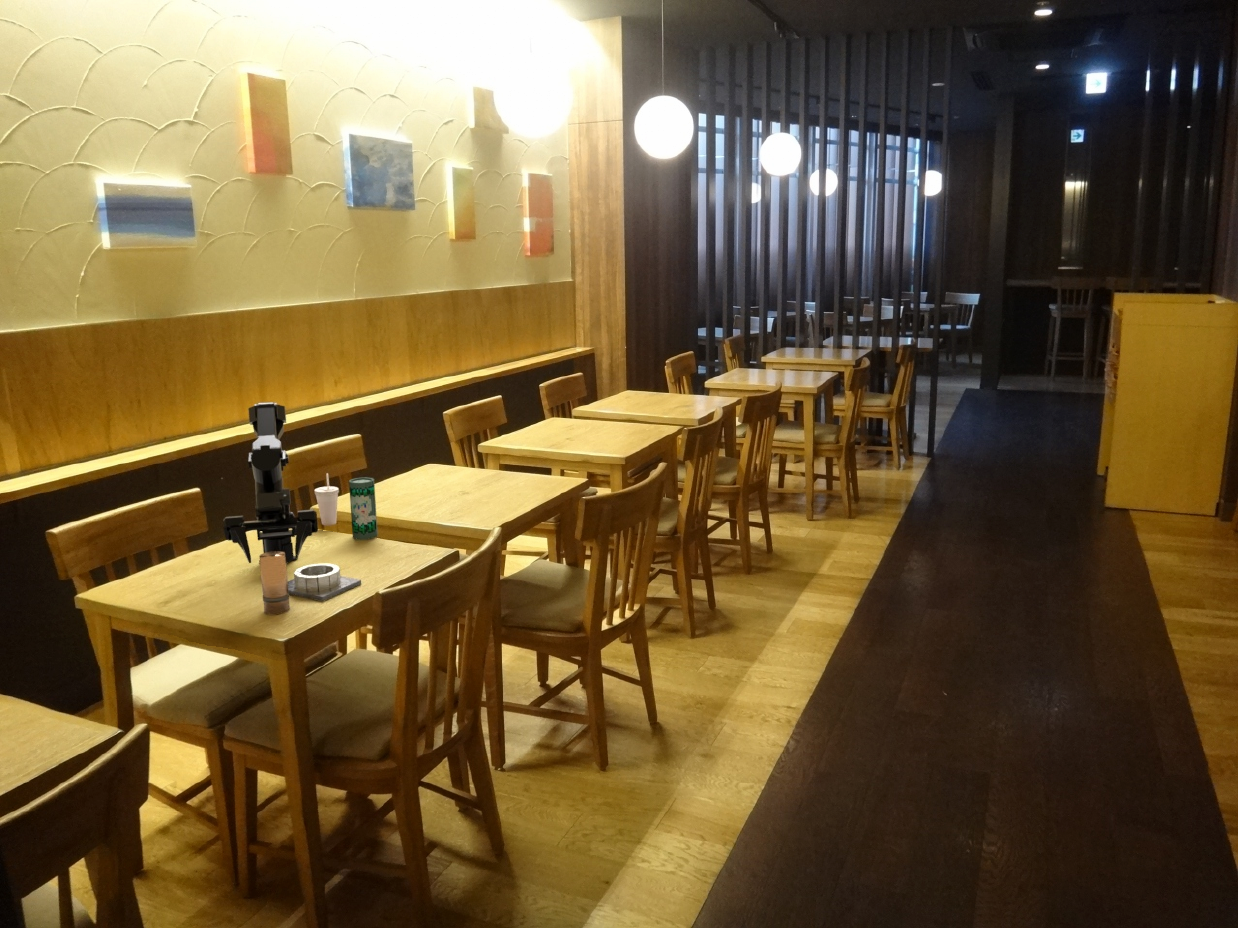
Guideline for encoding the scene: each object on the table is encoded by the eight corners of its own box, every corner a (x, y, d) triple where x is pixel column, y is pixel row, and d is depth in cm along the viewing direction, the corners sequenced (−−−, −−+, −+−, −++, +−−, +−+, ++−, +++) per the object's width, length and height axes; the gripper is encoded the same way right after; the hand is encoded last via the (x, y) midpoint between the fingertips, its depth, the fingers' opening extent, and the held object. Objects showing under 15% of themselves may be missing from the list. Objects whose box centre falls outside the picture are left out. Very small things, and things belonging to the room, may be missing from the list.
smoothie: (334, 527, 262) (330, 476, 259) (312, 526, 263) (308, 475, 260) (345, 520, 268) (342, 471, 265) (323, 519, 269) (320, 470, 266)
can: (351, 540, 251) (347, 483, 247) (354, 533, 256) (350, 478, 253) (376, 539, 251) (372, 482, 248) (378, 532, 257) (374, 477, 254)
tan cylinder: (258, 612, 202) (253, 556, 199) (277, 603, 206) (272, 549, 204) (277, 616, 200) (272, 560, 197) (295, 607, 204) (291, 553, 201)
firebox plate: (274, 591, 214) (272, 573, 213) (313, 575, 224) (312, 558, 223) (322, 601, 208) (321, 583, 207) (361, 583, 218) (360, 566, 217)
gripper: (219, 479, 202) (220, 545, 194) (313, 472, 208) (318, 536, 200) (225, 507, 211) (227, 571, 203) (315, 500, 217) (320, 562, 209)
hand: (273, 559), depth 203 cm, fingers open, 9 cm apart
